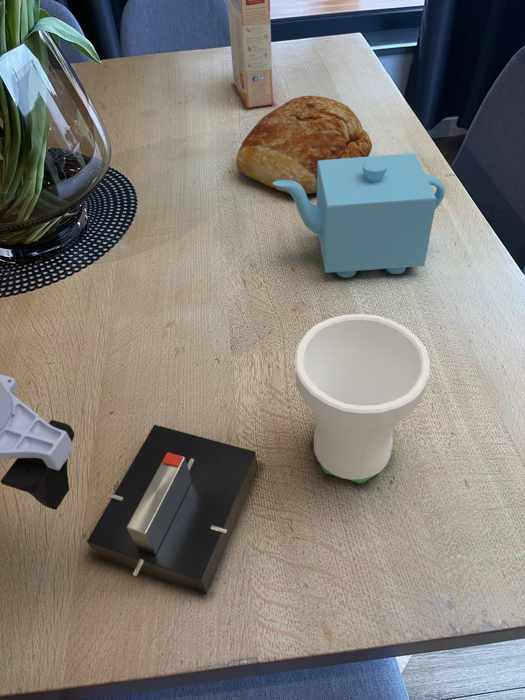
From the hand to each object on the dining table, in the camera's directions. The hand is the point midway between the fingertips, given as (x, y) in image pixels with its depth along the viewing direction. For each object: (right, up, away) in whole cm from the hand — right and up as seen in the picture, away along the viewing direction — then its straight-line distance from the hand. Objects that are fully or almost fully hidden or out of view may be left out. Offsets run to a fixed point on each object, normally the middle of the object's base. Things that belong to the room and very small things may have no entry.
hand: (19, 485), depth 45 cm
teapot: (+33, +24, +34) cm, 53 cm away
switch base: (+12, -4, +8) cm, 15 cm away
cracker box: (+18, +65, +73) cm, 100 cm away
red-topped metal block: (+11, -4, +4) cm, 12 cm away
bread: (+26, +42, +51) cm, 71 cm away
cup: (+29, 0, +11) cm, 31 cm away
